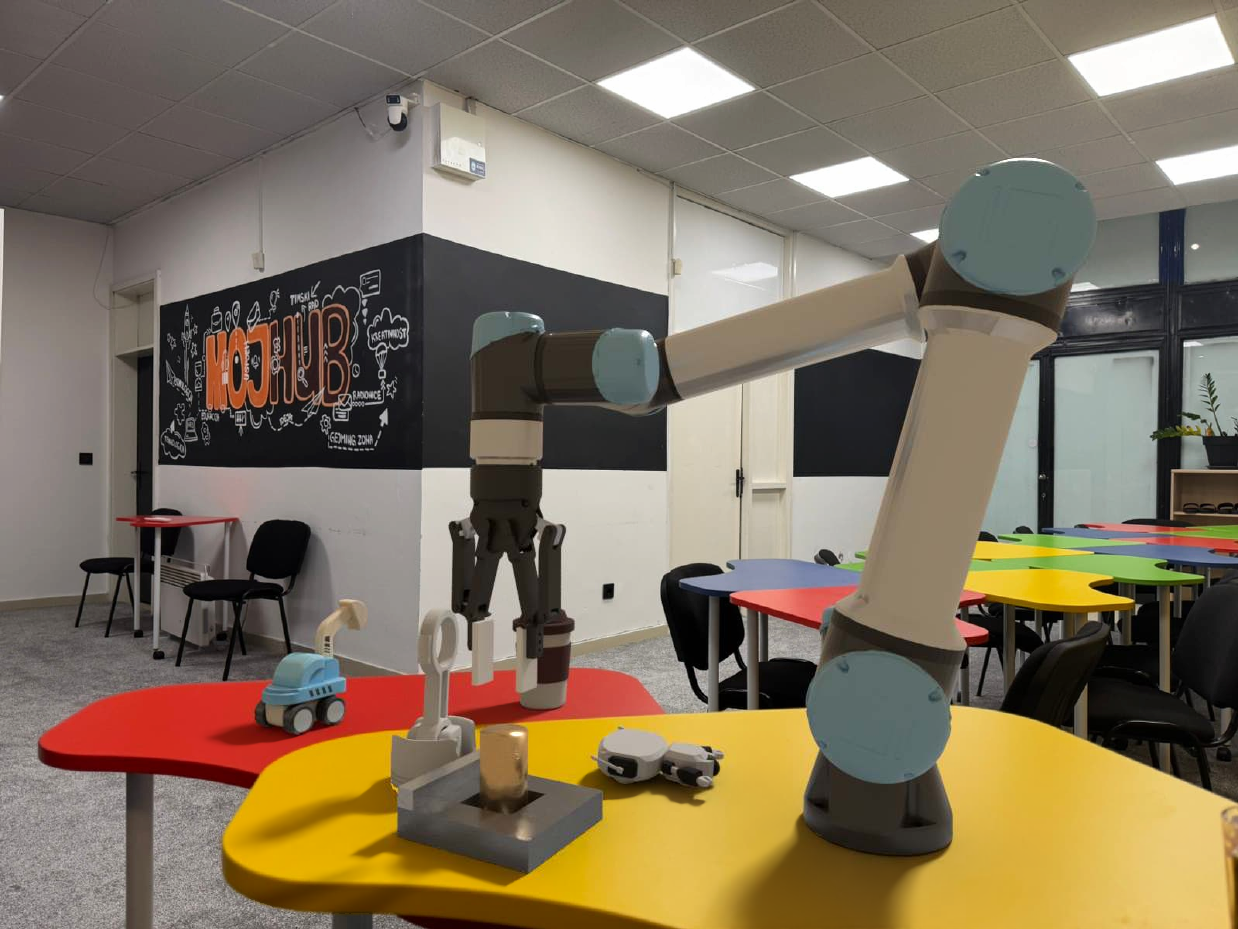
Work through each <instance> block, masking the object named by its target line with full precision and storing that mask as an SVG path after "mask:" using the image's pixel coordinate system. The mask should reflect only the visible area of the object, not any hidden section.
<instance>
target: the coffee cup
mask: <svg viewBox="0 0 1238 929" xmlns="http://www.w3.org/2000/svg"><path fill="white" fill-rule="evenodd" d="M522 623H523V618H522V613H521V614H520V617H516V618H514V619H513V620H512V626H511V627H512V631H513V632H514V633H515V634H516V636H517V628H518V627H520V625H519V624H522ZM575 624H576V622H575V619H574V618H571V617H568V616H567V613H566V610H565V609H563V608H561V617H560V618H559V619H558V620H554V621H551V622H548V623H546V624H545V626H544V631H543V654H542V657H539V658H537V687H536V688H533V689H531V690H528V691H526V692H523V693H519V702H520V704H521V706H522V707H525V708H527V709H531V710H552V709H557V708H561V707H562V706H564V704H565V703H566V700H567V689H568V688H567V686H568V679H569V677H570V676H569V675H570V664H571V652H572V642H571V633H572V632H574V631H575V628H576V627H575V626H576V625H575ZM514 644H515V645H514V646H516V643H514Z"/></svg>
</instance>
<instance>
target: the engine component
mask: <svg viewBox="0 0 1238 929" xmlns="http://www.w3.org/2000/svg"><path fill="white" fill-rule="evenodd" d="M426 613H427V614H425V616H424V617H423V620H422V622H421V625H420V629H419V633H418V642H417V664H419V665H420V668H421V670H422V672H423V673H424V674H425V678H424V695H423V696H424V697H423V700H424V701H423V716H421V717H419V718H418V717H417V719H416V720H415V722H414V725H413V726H412V727H411V728H409V730H408V731H407V735H406V737H402V736H399V735H396V734H392V735H391V749H390V750H391V751H390V784H391V783H392V784H393V786H394V787H396V788H398V787H399V786H401V785H403V784H405V783H407V782H409V781H412V780H414V779H416V778H418V777H420V776H422V775H425V774H427V773H429V772H431V771H433V770H435V769H437V768H440V767H442V766H444V765H446V764H448V763H450V762H453V761H455V760H457V759H459V758H461V757H463V756H466V755H468V754H470V753H472V752H474V751H476V750H478V749H477V740H476V724H475V722H474V720H472V719H470V718H467V717H463V716H456V715H448V714H449V692H450V691H449V690H450V672H451V670H452V668H453V665H454V663H455V661H456V658H457V656H458V653H459V652H458V650H459V649H458V648H459V641H460V639H459V638H460V630H459V623H458V619H457V616H456V614H455V613H453V612H452V609H450V608H448V607H447V608H445V607H444V608H442V607H433V608H432V609H430V610H429V611H428V612H426ZM440 630H441V644H440V650H439V653H438V656H437V639H438V635H439V634H438V632H439V631H440ZM391 780H392V781H391Z"/></svg>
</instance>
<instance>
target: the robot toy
mask: <svg viewBox="0 0 1238 929" xmlns="http://www.w3.org/2000/svg"><path fill="white" fill-rule="evenodd" d="M617 728H618V729H617V730H615V731H613V732H611V733H610V734H607V735H606V736H604V737H603V738H602V739H601V740H599V741H600V742H599V744H598V749H597V756H596V755H590V759H592V761H595V762H596V763H597V764H596V765H597V767H598V768H599V770H600V771H601V772H602V773H604V774H605V775H606V776H607V777H611V778H613V779H614V780H616V781H617V782H618V783H620V782H621V783H620V784H623V783H629V784H632V783H634V782H641V781H647V780H650V779H652V778H654V777H655V776H657V775H658V774H659V773H662V774H663V776H664V778H666V779H667V780H669V781H673V782H677V783H679V784H680V785H681V784H682V785H681V786H686V787H692V788H699V787H702V788H706V787H709V786H712V785H713V779H714V777H717V776H718V775H719V773H720V771H721V765H720V762H719V760H723V759H724V758H725V754H724V752H723V751H722V750H720V749H713V748H712V747H711V746H710V745H709V746H707V745H700V744H695V743H694V744H693V743H686V742H678V741H675V742H672V743H671V744H669V745H668V742H667V741H666V739H665V738H664V737H663V736H662V735H660V734H658V733H657V732H653V731H645V730H641V729H640V730H639V729H634V728H626V727H624V726H622V725H617Z"/></svg>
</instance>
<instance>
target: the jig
mask: <svg viewBox="0 0 1238 929" xmlns="http://www.w3.org/2000/svg"><path fill="white" fill-rule="evenodd" d="M479 776H480V748H478V749H477V750H476V751H474V752H472V753H470V754H468V755H466V756H463V757H461V758H459V759H457V760H455V761H453V762H450V763H448V764H446V765H444V766H442V767H440V768H437V769H435V770H433V771H431V772H429V773H427V774H425V775H422V776H420V777H418V778H416V779H414V780H412V781H409V782H407V783H405V784H403V785H401V786H399V787H398V793H397V813H396V814H397V816H396V817H397V818H396V819H397V820H396V823H397V824H396V832H397V833H396V836H397V838H401V839H405V840H408V841H412V842H414V843H415V842H416V843H419V844H422V845H426V846H429V847H433V848H436V849H440V850H443V851H447V852H451V853H454V854H458V855H461V856H465V857H467V858H468V857H469V858H472V859H475V860H479V861H483V862H485V863H486V862H487V863H490V864H492V865H495V866H500V867H503V868H507V869H510V870H515V871H518V872H522V873H525V874H530V873H531V872H533V871H534V870H535V869H537V868H538V867H539V866H541V865H542V864H544V862H546V861H548V860H549V859H550V858H552V857H553V856H554V855H556V854H557V853H558V852H560V851H561V850H562V849H564V848H565V847H567V846H568V845H569V844H571V843H572V842H573V841H575V840H576V839H577V838H579V837H580V836H581V835H583V834H584V833H585V832H587V831H588V830H590V828H592V827H594V826H595V825H596V824H597V823H599V822H600V821H601V820H603V817H604V816H603V808H604V806H603V802H604V799H603V798H604V795H603V794H604V791H603V790H602V789H601V790H600V789H598V788H592V787H587V786H583V785H579V784H578V785H577V784H573V783H569V782H565V781H564V782H563V781H560V780H555V779H550V778H546V777H543V776H542V777H541V776H537V775H531V774H528V805H527V806H525V807H524V808H522V809H520V810H519V811H517V812H515V813H514V814H512V815H505V814H501V813H497V812H493V811H489V810H485V809H481V808H479Z"/></svg>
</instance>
